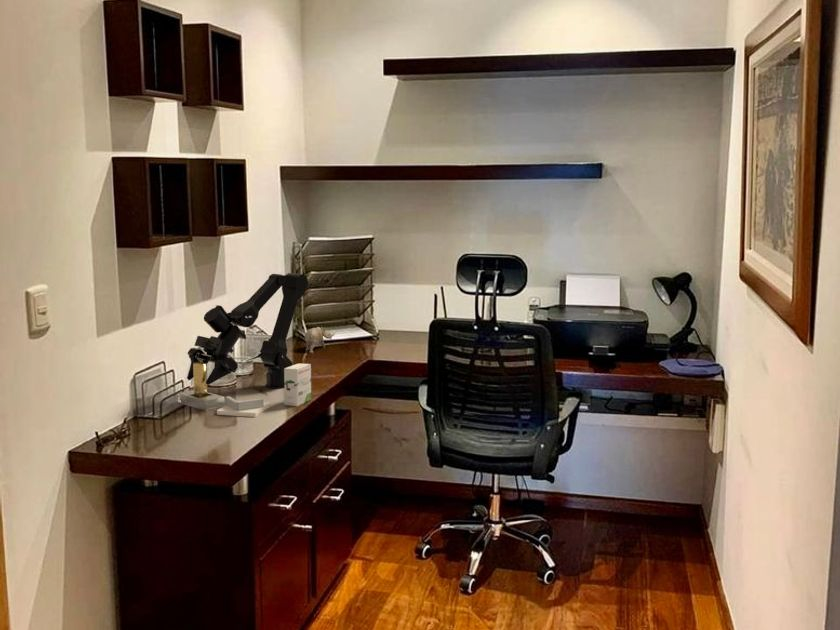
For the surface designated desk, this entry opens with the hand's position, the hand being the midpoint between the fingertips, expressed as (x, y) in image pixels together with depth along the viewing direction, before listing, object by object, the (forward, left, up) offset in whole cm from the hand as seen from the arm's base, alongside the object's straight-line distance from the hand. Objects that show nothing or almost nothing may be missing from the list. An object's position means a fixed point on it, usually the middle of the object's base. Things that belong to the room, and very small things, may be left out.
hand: (197, 381), depth 256 cm
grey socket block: (-1, 0, -7) cm, 8 cm away
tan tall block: (-1, 0, -7) cm, 8 cm away
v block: (-8, +14, -7) cm, 18 cm away
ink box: (-26, +16, -8) cm, 32 cm away
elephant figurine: (-78, -51, -8) cm, 94 cm away
